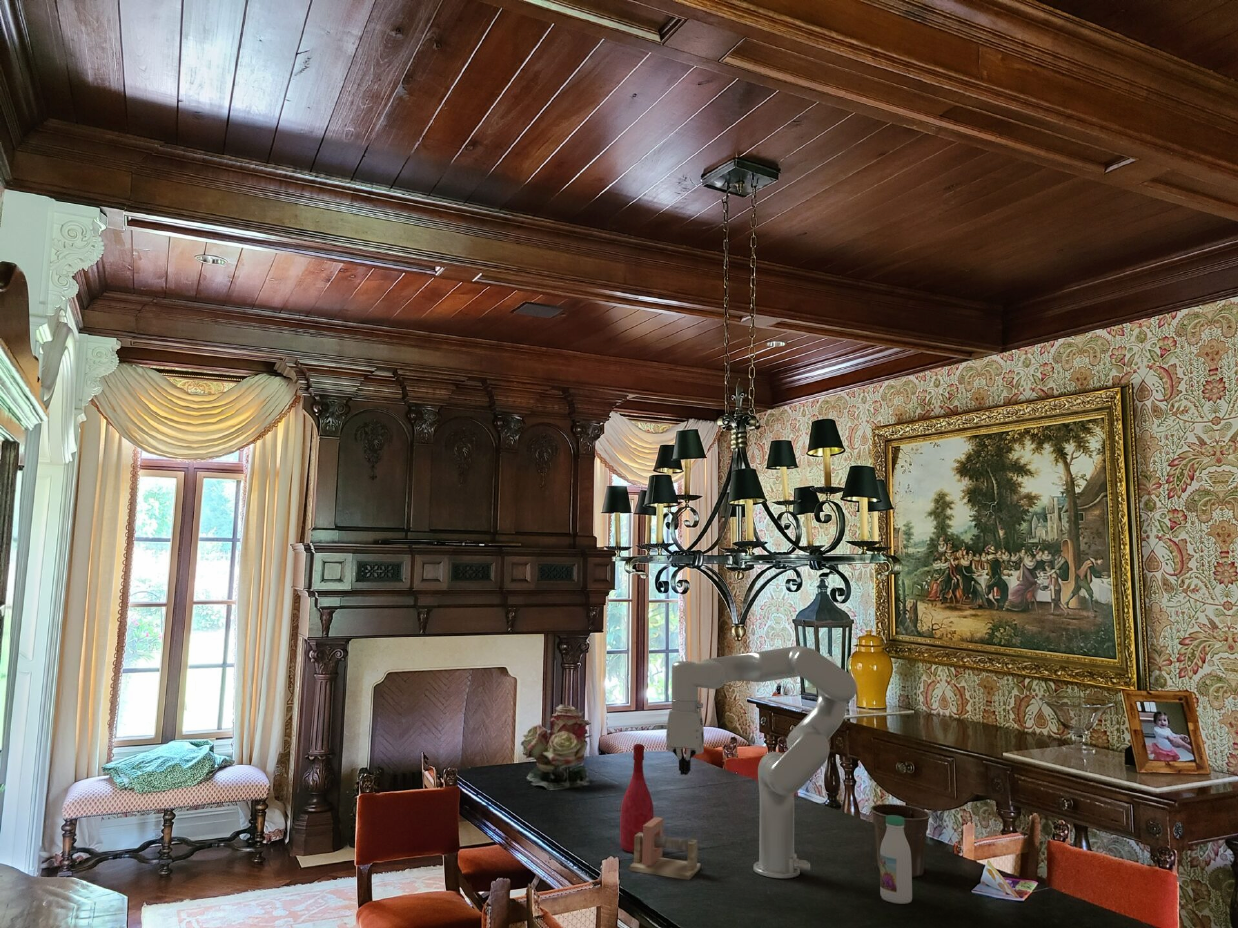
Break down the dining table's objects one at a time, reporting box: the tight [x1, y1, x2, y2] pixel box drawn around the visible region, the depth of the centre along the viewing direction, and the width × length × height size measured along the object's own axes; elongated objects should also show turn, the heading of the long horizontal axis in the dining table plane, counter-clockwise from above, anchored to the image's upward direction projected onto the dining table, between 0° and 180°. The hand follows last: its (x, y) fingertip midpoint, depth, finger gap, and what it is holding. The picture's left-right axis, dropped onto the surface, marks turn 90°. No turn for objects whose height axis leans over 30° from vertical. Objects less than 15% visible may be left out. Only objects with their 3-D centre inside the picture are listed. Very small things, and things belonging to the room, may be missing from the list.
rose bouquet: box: [520, 703, 593, 791], centre depth 339 cm, size 26×29×30 cm
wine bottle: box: [619, 743, 655, 854], centre depth 256 cm, size 10×10×30 cm
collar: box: [642, 816, 664, 865], centre depth 238 cm, size 2×10×10 cm, turn 159°
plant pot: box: [870, 803, 932, 878], centre depth 242 cm, size 16×16×16 cm
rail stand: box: [628, 832, 701, 881], centre depth 237 cm, size 17×11×9 cm, turn 69°
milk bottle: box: [879, 815, 913, 905], centre depth 220 cm, size 8×8×20 cm
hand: (684, 773), depth 239 cm, fingers closed
